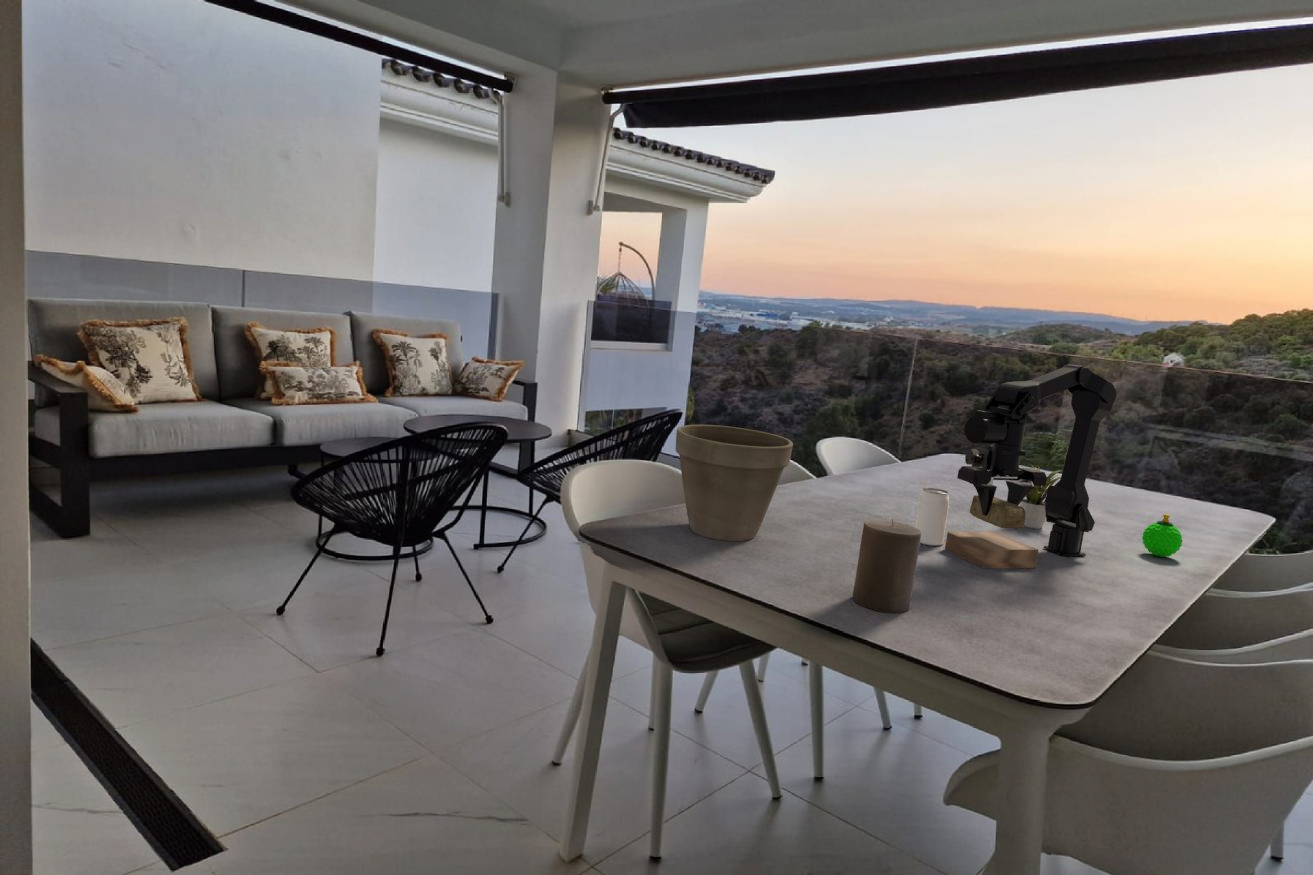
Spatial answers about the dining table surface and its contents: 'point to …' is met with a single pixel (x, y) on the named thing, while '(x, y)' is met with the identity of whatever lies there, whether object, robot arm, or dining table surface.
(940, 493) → the can
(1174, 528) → the ornament
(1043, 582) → the dining table surface
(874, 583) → the pillar candle
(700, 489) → the plant pot
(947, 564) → the dining table surface
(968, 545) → the plinth
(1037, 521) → the house plant
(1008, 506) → the stone block
